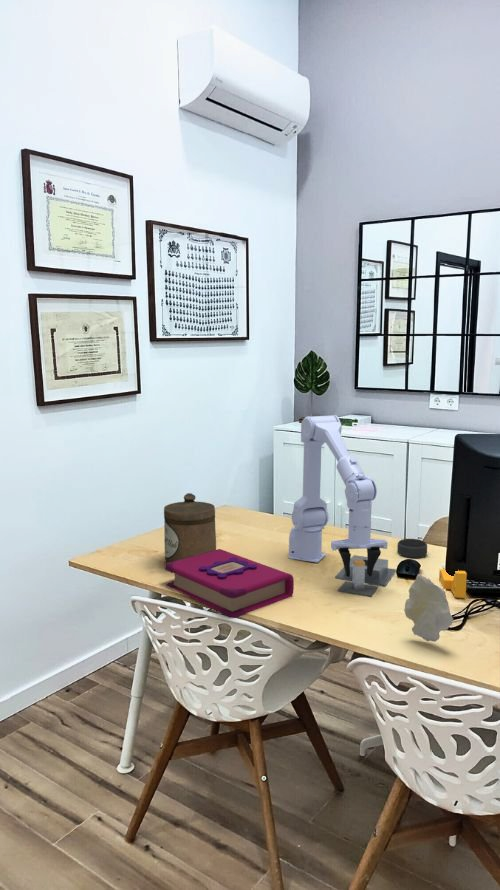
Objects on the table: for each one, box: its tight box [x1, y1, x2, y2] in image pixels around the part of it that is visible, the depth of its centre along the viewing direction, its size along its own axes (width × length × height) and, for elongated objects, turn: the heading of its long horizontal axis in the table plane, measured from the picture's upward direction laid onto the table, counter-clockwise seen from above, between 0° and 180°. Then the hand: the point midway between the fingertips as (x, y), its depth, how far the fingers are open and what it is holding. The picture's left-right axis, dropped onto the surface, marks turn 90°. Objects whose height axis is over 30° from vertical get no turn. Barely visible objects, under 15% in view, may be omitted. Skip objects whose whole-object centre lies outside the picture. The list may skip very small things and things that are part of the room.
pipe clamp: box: [438, 568, 468, 599], centre depth 172 cm, size 12×4×6 cm, turn 175°
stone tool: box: [403, 573, 454, 643], centre depth 141 cm, size 11×4×15 cm, turn 51°
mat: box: [337, 580, 379, 598], centre depth 171 cm, size 9×7×1 cm
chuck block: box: [334, 554, 397, 587], centre depth 182 cm, size 14×13×4 cm
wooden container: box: [163, 492, 217, 564], centre depth 186 cm, size 15×15×22 cm
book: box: [164, 548, 295, 618], centre depth 169 cm, size 21×28×8 cm
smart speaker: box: [397, 538, 428, 559], centre depth 200 cm, size 9×9×4 cm
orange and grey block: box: [351, 559, 365, 590], centre depth 171 cm, size 3×3×8 cm
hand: (358, 575), depth 171 cm, fingers open, 5 cm apart
